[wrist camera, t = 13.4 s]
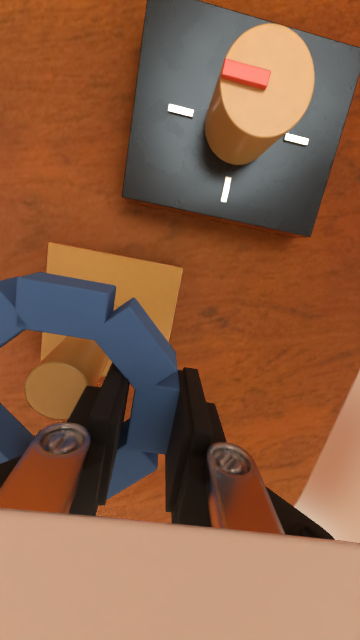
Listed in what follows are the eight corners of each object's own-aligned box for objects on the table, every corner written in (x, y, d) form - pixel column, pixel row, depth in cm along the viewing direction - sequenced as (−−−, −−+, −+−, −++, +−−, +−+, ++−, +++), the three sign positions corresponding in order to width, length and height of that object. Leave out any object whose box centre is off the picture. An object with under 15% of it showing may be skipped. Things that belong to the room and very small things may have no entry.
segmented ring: (194, 299, 10) (200, 309, 9) (156, 482, 12) (155, 515, 11) (-49, 255, 9) (-90, 258, 8) (-45, 460, 12) (-76, 493, 10)
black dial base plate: (339, 75, 18) (369, 47, 15) (293, 237, 20) (312, 237, 18) (150, 22, 16) (148, -18, 14) (126, 202, 19) (121, 196, 16)
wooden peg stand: (182, 266, 20) (202, 295, 10) (160, 377, 23) (157, 500, 12) (55, 242, 19) (-81, 243, 9) (46, 360, 22) (-70, 477, 11)
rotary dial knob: (282, 93, 16) (332, 32, 11) (263, 171, 17) (302, 145, 12) (213, 75, 15) (234, 3, 11) (197, 156, 16) (211, 122, 12)
